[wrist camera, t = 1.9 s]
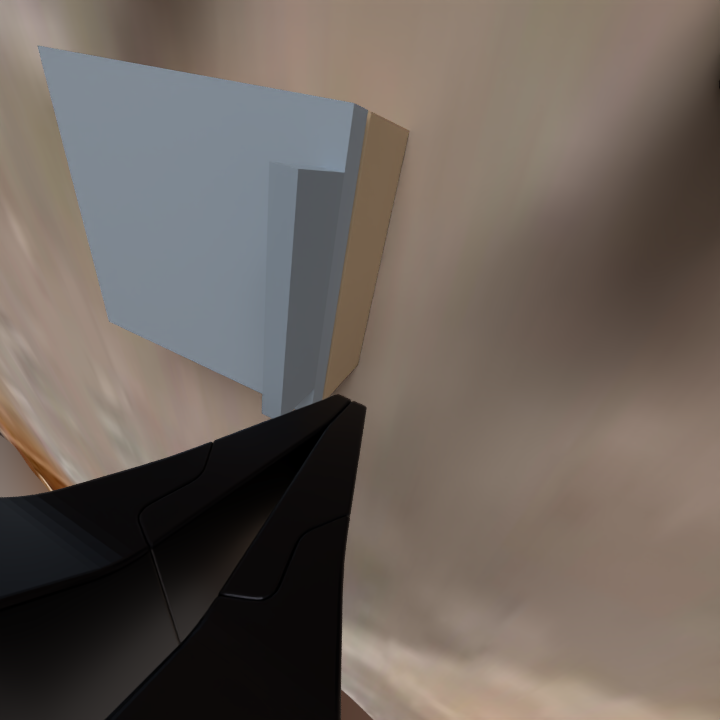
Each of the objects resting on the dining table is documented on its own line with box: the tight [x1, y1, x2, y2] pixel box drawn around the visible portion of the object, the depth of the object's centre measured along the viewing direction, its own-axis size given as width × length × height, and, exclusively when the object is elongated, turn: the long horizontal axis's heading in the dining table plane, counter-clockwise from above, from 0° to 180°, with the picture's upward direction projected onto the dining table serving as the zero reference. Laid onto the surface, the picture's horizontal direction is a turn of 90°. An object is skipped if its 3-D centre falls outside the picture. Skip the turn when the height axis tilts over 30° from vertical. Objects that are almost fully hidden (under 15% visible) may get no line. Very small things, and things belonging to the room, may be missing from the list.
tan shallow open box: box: [322, 111, 409, 400], centre depth 20 cm, size 16×14×5 cm
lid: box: [38, 46, 368, 419], centre depth 16 cm, size 16×14×4 cm
